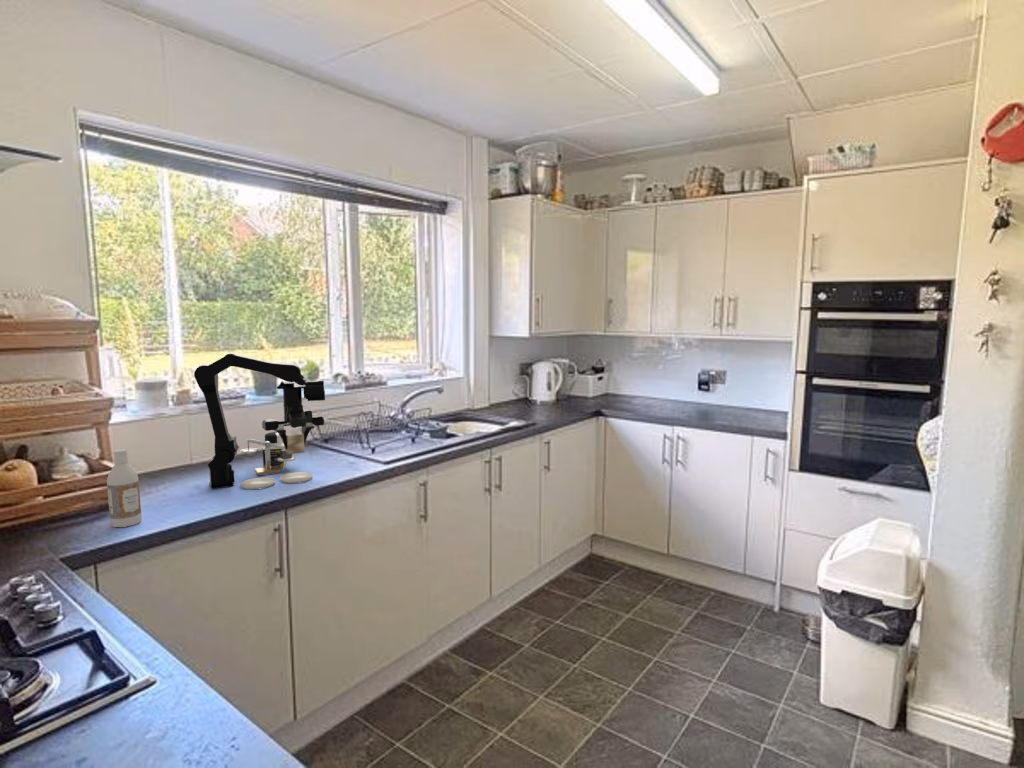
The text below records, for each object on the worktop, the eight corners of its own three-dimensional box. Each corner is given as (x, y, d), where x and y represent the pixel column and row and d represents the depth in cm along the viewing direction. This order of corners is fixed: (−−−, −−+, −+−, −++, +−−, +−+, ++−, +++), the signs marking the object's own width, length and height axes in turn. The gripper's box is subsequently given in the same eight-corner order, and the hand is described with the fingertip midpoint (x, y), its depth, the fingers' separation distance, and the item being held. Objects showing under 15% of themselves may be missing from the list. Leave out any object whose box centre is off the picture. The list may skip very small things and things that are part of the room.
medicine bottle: (263, 468, 210) (261, 435, 208) (266, 463, 217) (264, 431, 215) (284, 466, 212) (282, 434, 210) (286, 461, 219) (285, 430, 217)
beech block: (288, 454, 192) (288, 436, 191) (285, 451, 196) (284, 433, 195) (304, 452, 194) (303, 434, 194) (300, 449, 199) (300, 432, 198)
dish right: (284, 485, 190) (284, 482, 189) (277, 477, 198) (277, 474, 198) (315, 480, 195) (315, 477, 195) (307, 473, 203) (307, 470, 203)
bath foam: (119, 530, 150) (113, 454, 148) (105, 525, 154) (98, 451, 151) (147, 521, 156) (141, 449, 154) (132, 517, 160) (126, 446, 157)
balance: (241, 478, 197) (239, 441, 196) (238, 474, 202) (236, 438, 201) (297, 470, 207) (296, 435, 206) (293, 466, 212) (291, 432, 211)
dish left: (244, 491, 183) (244, 488, 183) (238, 483, 191) (238, 480, 191) (277, 486, 188) (277, 483, 188) (271, 478, 197) (271, 475, 197)
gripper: (267, 407, 181) (270, 456, 183) (328, 402, 192) (329, 449, 193) (260, 402, 190) (263, 449, 192) (318, 398, 201) (320, 442, 203)
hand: (294, 447), depth 195 cm, fingers closed on beech block, 5 cm apart
